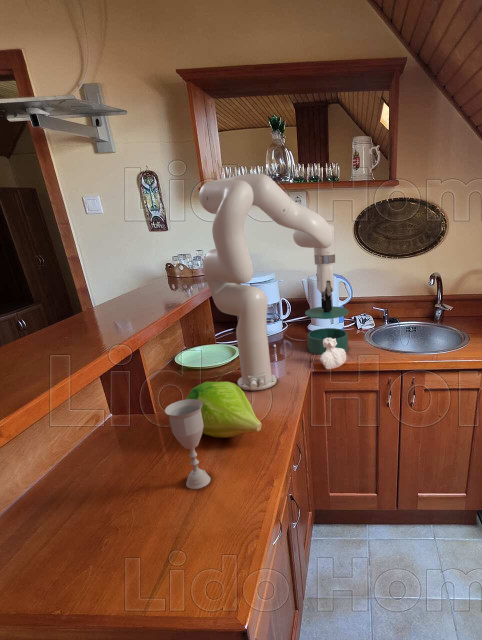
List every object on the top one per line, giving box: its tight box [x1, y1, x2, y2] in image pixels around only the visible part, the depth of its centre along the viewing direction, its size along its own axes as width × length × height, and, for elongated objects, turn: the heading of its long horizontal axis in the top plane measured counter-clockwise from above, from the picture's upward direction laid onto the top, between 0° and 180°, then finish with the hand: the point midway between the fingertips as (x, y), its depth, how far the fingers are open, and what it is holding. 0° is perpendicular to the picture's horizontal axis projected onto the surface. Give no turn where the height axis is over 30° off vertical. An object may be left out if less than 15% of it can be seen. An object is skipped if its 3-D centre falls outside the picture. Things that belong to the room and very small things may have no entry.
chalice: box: [164, 398, 211, 490], centre depth 87 cm, size 7×7×18 cm
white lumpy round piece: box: [319, 338, 347, 370], centre depth 148 cm, size 12×8×11 cm
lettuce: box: [185, 381, 263, 439], centre depth 106 cm, size 15×22×15 cm
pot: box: [306, 327, 349, 356], centre depth 165 cm, size 16×16×6 cm
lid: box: [304, 297, 350, 320], centre depth 159 cm, size 17×17×7 cm
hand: (326, 309), depth 160 cm, fingers closed on lid, 2 cm apart
